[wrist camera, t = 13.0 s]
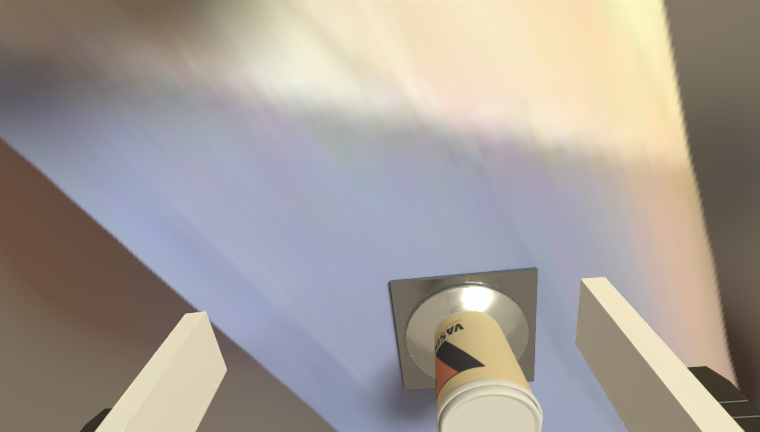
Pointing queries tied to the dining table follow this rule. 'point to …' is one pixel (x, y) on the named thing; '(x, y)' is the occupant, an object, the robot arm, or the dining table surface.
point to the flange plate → (462, 293)
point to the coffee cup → (480, 379)
